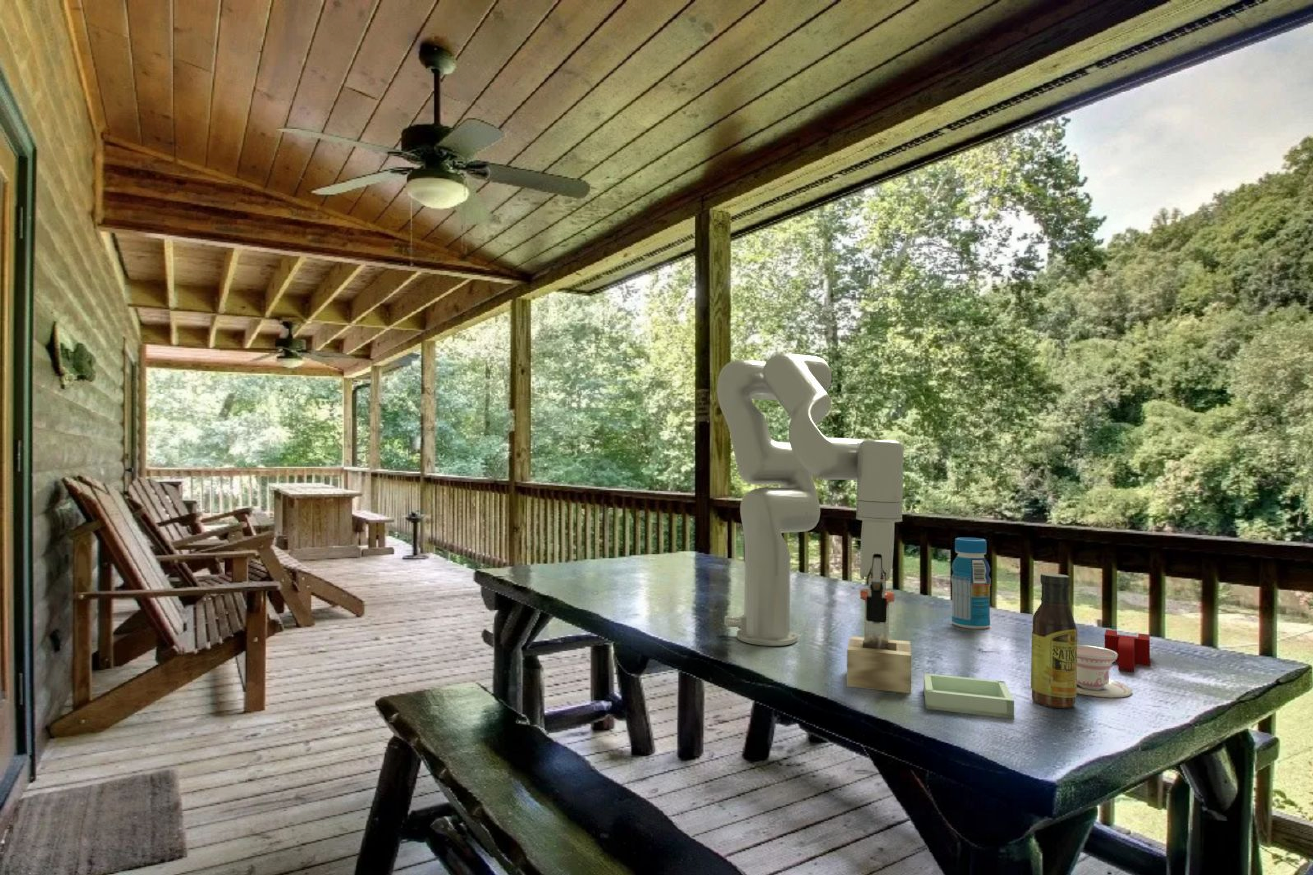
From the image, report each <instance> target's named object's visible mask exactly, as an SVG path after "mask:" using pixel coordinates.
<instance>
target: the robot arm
mask: <svg viewBox="0 0 1313 875" xmlns="http://www.w3.org/2000/svg"><path fill="white" fill-rule="evenodd" d="M830 368H831V367H830V366H829V364H828V363H827V362H826V360H824V359H823V358H821V357H819V356H816V355H808V354H801V353H800V354H799V353H790V352H789V353H787V352H784V353H777V354H775V355H772V356H771V357H770V358H768V359H767V360H766V361H762V360H755V359H738V360H737V359H736V360H732V361H730V362H728V363H726V364H725V365H724V366H722V369H721V370H720V372H719V375H718V378H717V384H716V394H717V400H718V401H717V402H718V405H719V407H720V410H721V413H722V415H723V417H724V419H725V423H726V425H727V428H728V431H729V436H730V441H731V445H732V448H733V449H732V450H733V453H734V457H735V463H736V466H737V470H738V474H739V475H740V478H741V479H742V481H744V482H746V483H747V484H750V485H751V484H752V485H765V486H767V485H768V486H769V485H772V486H773V485H774V486H777V485H779V486H780V487H758V488H755V489H752V490H750V491H748V492H747V493H746V494H744V496H743V498H742V499H741V501H740V507H739V512H740V513H739V514H740V519H741V523H742V524H741V525H742V531H743V538H744V540H743V541H744V542H743V543H744V593H743V594H744V595H743V597H744V598H743V600H744V602H743V603H744V605H743V606H744V607H743V612H744V613H743V615H739V616H731V615H724V619H723V623H724V626H727V627H729V628H738V630H737V631H736V639H738V640H739V641H741V642H743V643H747V644H751V645H756V646H764V647H765V646H766V647H767V646H769V647H777V646H781V647H782V646H788V645H792V644H795V643H796V642H797V641H798V633H796V632H794V631H792V630H791V553H790V552H791V551H790V550H789V549H790V548H789V547H788V544H787V542H786V541H785V539H784V537H783V535H782V534H783V533H784V534H785V533H800V532H802V533H803V532H808V531H810V530H813V529H814V528H815V527H816V526H817V524H818V523H819V521H820V516H821V505H820V500H819V499H820V498H819V496H818V492H817V488H816V485H815V484H816V483H815V480H814V478H816V479H818V480H829V481H831V480H834V481H835V480H838V481H839V480H843V481H856V514H855V515H856V516H855V519H856V520H859V521H862V522H861V532H860V559H859V560H860V562H859V563H860V566H859V567H860V569H859V578H860V579H861V580H864V579H865V577H866V578H867V577H868V585H867V589H868V596H867V606H866V620H867V621H872V622H882V623H885V622H886V612H887V598H885V590H887V582H888V581H889V580H890V579H891V574H892V567H893V560H894V559H893V558H894V550H895V549H894V548H895V545H894V544H895V523H900V522H903V490H904V488H903V487H904V483H903V482H904V446H903V444H902V443H901V442H900V441H899V440H894V439H865V438H863V439H862V438H847V437H826V436H825V435H824V434H823V433H822V432H821V430H819V428H818V427H817V426H816V425H817V424H819V423H820V422H821V421H822V420H823V419H825V418H826V416H828V414H829V412H830V411H831V407H832V398H831V397H830V395H829V394H828V392H827V391H828V390H829V388H830V386H831V383H832V371H831V370H832V369H830ZM752 399H753V400H762V401H763V400H765V401H778V402H779V404H780V405H781V406H782V408H783V409H784V410H785V412H786V414H787V415H788V416H789V417H790V421H789V425H788V440H789V441H777V440H774V439H773V438H772V436H771V432H770V429H769V425H768V421H767V419H766V417H765V416H764V414H763V412H762V410H760V409H759V408H758V406H756V404H755V403H754V402H753V401H752ZM871 595H872V597H871Z"/></svg>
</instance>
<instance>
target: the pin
mask: <svg viewBox="0 0 1313 875" xmlns="http://www.w3.org/2000/svg"><path fill="white" fill-rule="evenodd" d="M859 591H860V592H859V598H860V599H861V600H863V601H864V622H863V623H864V624H863V625H864V628H863V629H864V632H863V637H864V648H870V649H881V650H888V641H889V640H890V639H889V635H890V632H889V630H890V603H893V602H895V592H894V591H891V590H887V589H886V590H885V598H887V612H886V622H885V623H882V622H872V621H867V620H866V606H867V596H868V588H863V589H860V590H859ZM871 597H872V595H871Z"/></svg>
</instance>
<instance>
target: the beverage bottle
mask: <svg viewBox="0 0 1313 875" xmlns="http://www.w3.org/2000/svg"><path fill="white" fill-rule="evenodd" d="M954 540H955V541H954V551H955V553H956V554H957V555H956V557H955V558H954V560H953V561H952V563H951V569H952V570H951V571H952V574H951V577H950V581H951V582H950V583H951V590H952V591H951V593H952V594H951V597H952V598H951V599H952V600H951V602H952V604H951V605H952V608H951V611H952V612H951V623H952V624H953V625H954V626H956V627H959V628H965V629H968V630H969V629H971V630H985V629H988V628H990V627H991V615H990V613H991V611H990V610H991V609H990V608H991V607H990V606H991V604H990V603H991V601H990V600H991V598H990V597H991V596H990V595H991V588H990V587H991V584H992V583H991V582H992V581H991V580H992V579H991V577H990V572H991V567H990V564H989V562H988V561H987V559H986V557H985V556H984V555H987V540H986V539H984V538H979V537H978V538H977V537H957V538H955V539H954Z"/></svg>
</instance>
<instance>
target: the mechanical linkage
mask: <svg viewBox="0 0 1313 875" xmlns="http://www.w3.org/2000/svg"><path fill="white" fill-rule="evenodd" d="M1150 641H1151V637H1150V634H1148V633H1147V634H1146V633H1139V632H1138V635H1137V636H1131V635H1123V634H1118V631H1117V630H1115V629H1113V630H1112V629H1105V631H1104V648H1106V649H1110V650H1113V651H1115V652H1116V653H1117V654H1118V656H1117V659H1116V661H1115V662H1117V665H1118V666H1117V668H1118V670H1119V671H1125V672H1133V673H1135V665H1137V666H1138V665H1139V666H1140V665H1141V666H1146V667H1147V666H1148V667H1150V666H1151V658H1150V657H1151V651H1150V650H1151V646H1150V643H1151V642H1150Z"/></svg>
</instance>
